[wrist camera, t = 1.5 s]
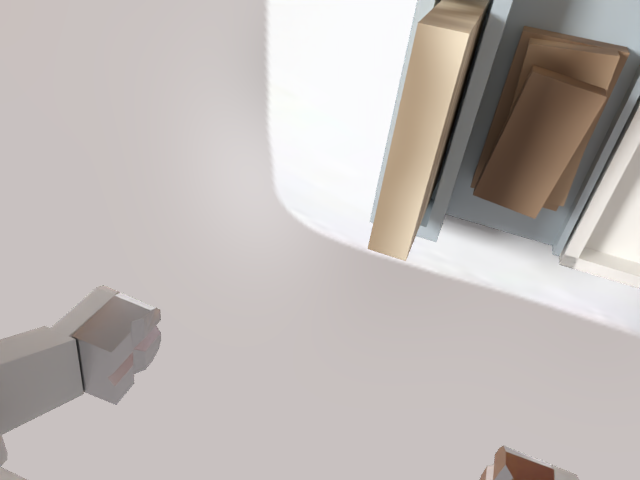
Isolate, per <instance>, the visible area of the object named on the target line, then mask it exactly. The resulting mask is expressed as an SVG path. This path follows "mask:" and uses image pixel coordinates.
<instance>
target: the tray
mask: <svg viewBox="0 0 640 480" xmlns="http://www.w3.org/2000/svg"><path fill="white" fill-rule="evenodd" d="M559 265H562V266H566V267H569V268H572V269H576V270H579V271H582V272H586V273H589V274H592V275H596V276H599V277H602V278H606V279H609V280H612V281H615V282H619V283H622V284H625V285H629V286H632V287H635V288H639V289H640V95H639V97H638V99H637V101H636V103H635V105H634V107H633V109H632V112H631V114H630V116H629V118H628V120H627V122H626V124H625V126H624V128H623V130H622V132H621V134H620V136H619V138H618V140H617V142H616V144H615V146H614V148H613V150H612V152H611V154H610V156H609V158H608V160H607V162H606V164H605V166H604V168H603V170H602V172H601V174H600V176H599V178H598V180H597V182H596V184H595V186H594V188H593V190H592V192H591V194H590V196H589V198H588V200H587V202H586V204H585V206H584V208H583V210H582V212H581V214H580V216H579V218H578V220H577V222H576V224H575V226H574V228H573V230H572V232H571V234H570V236H569V238H568V240H567V242H566V244H565V246H564V248H563V250H562V252H561V254H560V256H559Z"/></svg>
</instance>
